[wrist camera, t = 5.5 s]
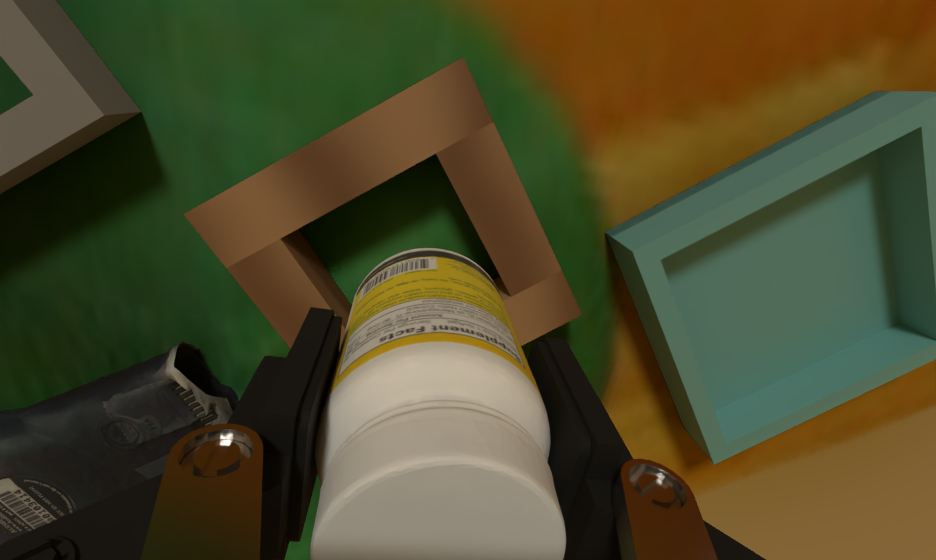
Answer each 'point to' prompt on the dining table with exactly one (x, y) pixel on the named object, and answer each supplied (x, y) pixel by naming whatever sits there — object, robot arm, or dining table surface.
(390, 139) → the square wooden frame
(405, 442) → the supplement bottle
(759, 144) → the dining table surface
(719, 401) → the tray
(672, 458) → the dining table surface
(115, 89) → the gray rectangular frame
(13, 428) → the electronic device
